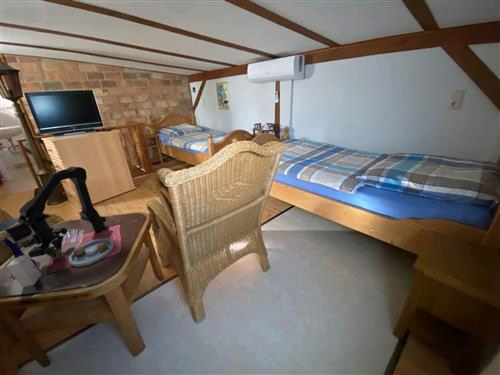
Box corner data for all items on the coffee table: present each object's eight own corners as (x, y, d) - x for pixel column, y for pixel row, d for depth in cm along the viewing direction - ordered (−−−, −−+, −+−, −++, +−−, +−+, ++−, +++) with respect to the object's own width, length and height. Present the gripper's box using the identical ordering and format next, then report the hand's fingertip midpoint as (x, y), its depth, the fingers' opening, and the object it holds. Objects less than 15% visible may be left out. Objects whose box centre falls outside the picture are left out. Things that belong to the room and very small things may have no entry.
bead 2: (87, 252, 103) (84, 247, 102) (78, 258, 100) (75, 252, 99) (83, 250, 105) (80, 245, 104) (74, 256, 102) (71, 250, 101)
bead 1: (56, 254, 106) (53, 249, 105) (65, 252, 107) (61, 247, 105) (51, 260, 103) (47, 254, 101) (60, 258, 103) (57, 252, 102)
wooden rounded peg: (101, 248, 106) (99, 243, 104) (110, 246, 107) (107, 241, 105) (98, 253, 102) (95, 248, 101) (106, 252, 103) (104, 246, 102)
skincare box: (34, 284, 89) (19, 263, 84) (21, 288, 88) (5, 267, 83) (42, 274, 94) (28, 253, 89) (30, 277, 93) (15, 256, 88)
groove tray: (83, 246, 111) (80, 242, 110) (119, 239, 114) (117, 235, 112) (63, 271, 95) (60, 267, 93) (105, 263, 98) (103, 259, 96)
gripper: (36, 221, 105) (51, 245, 111) (5, 245, 88) (24, 272, 95) (61, 217, 107) (74, 241, 113) (35, 240, 90) (52, 267, 96)
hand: (57, 254), depth 104 cm, fingers closed on bead 1, 4 cm apart
